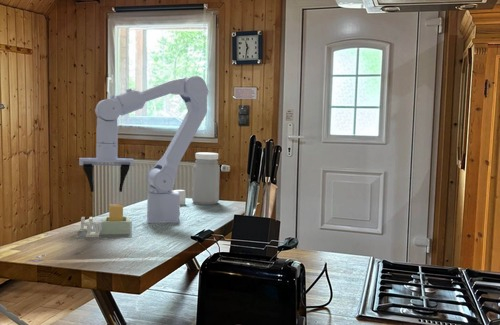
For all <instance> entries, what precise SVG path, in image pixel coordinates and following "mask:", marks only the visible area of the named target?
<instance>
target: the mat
mask: <svg viewBox="0 0 500 325" xmlns="http://www.w3.org/2000/svg"><path fill="white" fill-rule="evenodd" d="M88 222H89V221H88ZM88 222H87V221H85V226H87V223H88ZM96 222H97V221H95V222H94V221H93V230H92V231H91V232H95V224H96ZM98 222H99V232H100V234H99V237H86V234H87V231H80V230H79V233H78V236H77V238H76V240H77V239H80V240H81V239H82V240H83V239H123V238H124V239H125V238H127V239H128V238H131V239H132V238H133V232H132V231H133V230H132V229H133V227H132V226H133V225H132V224H133V222H132V221H130V234H104V235H101V230H102V221H98Z"/></svg>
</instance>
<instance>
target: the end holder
mask: <svg viewBox="0 0 500 325" xmlns="http://www.w3.org/2000/svg"><path fill="white" fill-rule="evenodd" d="M101 222H102V230H101V235H104V234H130V222H131V216H130V215H129V216H128V215H127V216H126V215H123V221H109V215H108V216H107V215H106V216H105V215H104V216H102V220H101Z"/></svg>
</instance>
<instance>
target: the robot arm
mask: <svg viewBox="0 0 500 325" xmlns="http://www.w3.org/2000/svg"><path fill="white" fill-rule="evenodd" d="M170 94H171V95H174V96H175V95H179V96H180V97H181V99H182V101H183V102H184V104H185V106H186V110H187V113H186V114H185V116H184V118H183V119H182V121H181V123H180V125H179V127H178V128H177V130H176V132H175V134H174V135H173V137H172V139H171V141H170V142H169V144H168V146H167V148H166V149H165V152H164V153H163V155H162V157H161V158H160V159H159V160H158V161H156V163H155V165H154V166H153V167H152V168H150V169H149V170H148V172H146V173H147V174H146V177H145V180H146V183H147V184H148V185H149V187H148V188H147V199H146V200H147V204H146V206H147V208H146V210H147V211H146V216H145V217H144V219H145V223H150V224H151V223H153V224H154V223H180V217H181V212H180V207H181V206H180V195H179V192H173V188H174V187H175V183H176V176H177V174H178V172H179V164H180V162H181V161H182V159H183V157H184V155H185V153H186V151H187V150H188V147H190V144H191V143H192V141H193V139H194V137H195V136H196V133H197V132H198V130H199V128H200V126H201V124H202V123H203V121H204V118H205V117H206V115H207V112H208V95H209V88H208V86H207V83H206V81H205V79H204V78H202V77H201V76H199V75H192V76H189V77H187V76H186V77H182V78H178V79H171V80H168V81H165V82H163V83H160V84H158V85H155V86H153V87H152V86H151V87H150V88H148V89H145V90H143V91H140V90H139V89H136V88H133V89H132V87H131V88H128V89H126V90H125V92H123V93H120V94H117V95H115V94H112V95H110V97H109V98H106V99H102V100H99V101H98V103H97V104H96V106H95V109H94V113H95V115H96V117H97V118H96V131H95V133H96V137H95V138H96V140H95V141H96V144H95V146H96V148H95V153H96V154H95V156H96V157H79V158H78V159H79V160H78V164H79V166H82V169H83V172H84V173H85V175H86V178H87V180H88V184H89V188H90V192H91V193H93V192H94V191H95V184H94V170H95V169H94V167H95V166H115V167H116V166H118V167H119V166H120V168H119V171H120V172H119V176H120V177H119V187H118V188H119V192H120V193H122V192H123V186H124V182H125V179H126V177H127V175H128V172H129V170H130V167H134V163H135V162H134V160H135V159H134V158H123V157H118V150H119V149H118V145H119V140H118V139H119V126H118V118H119V117H120V116H122V117H123V116H125V115H128V114H130V113H133V112H135V111H138V110H141V109H143V108H144V107H145V105H146V103H147V102H150V101H153V100H156V99H158V98H159V99H160V98H161V97H165V96H168V95H170Z"/></svg>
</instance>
